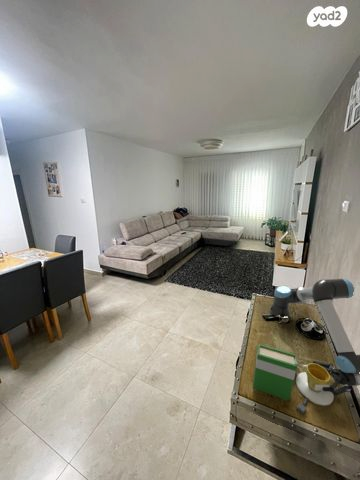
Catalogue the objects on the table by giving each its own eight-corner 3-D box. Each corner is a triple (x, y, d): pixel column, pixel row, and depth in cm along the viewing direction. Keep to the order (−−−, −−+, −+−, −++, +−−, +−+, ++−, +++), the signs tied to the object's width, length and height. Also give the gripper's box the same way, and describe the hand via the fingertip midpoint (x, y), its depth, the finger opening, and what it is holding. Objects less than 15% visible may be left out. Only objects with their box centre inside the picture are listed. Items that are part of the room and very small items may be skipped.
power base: (303, 368, 119) (303, 365, 118) (337, 390, 106) (338, 388, 106) (282, 397, 104) (282, 394, 103) (319, 428, 91) (320, 425, 90)
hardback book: (287, 387, 108) (295, 354, 101) (289, 401, 102) (296, 366, 94) (253, 375, 115) (258, 343, 108) (253, 387, 109) (257, 354, 101)
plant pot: (323, 379, 110) (326, 366, 107) (329, 398, 101) (333, 384, 97) (301, 373, 113) (304, 360, 110) (305, 390, 104) (309, 377, 101)
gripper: (368, 405, 95) (321, 405, 95) (333, 362, 117) (296, 362, 117) (372, 394, 93) (324, 394, 93) (336, 353, 114) (298, 353, 115)
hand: (308, 376), depth 105 cm, fingers closed on plant pot, 10 cm apart
